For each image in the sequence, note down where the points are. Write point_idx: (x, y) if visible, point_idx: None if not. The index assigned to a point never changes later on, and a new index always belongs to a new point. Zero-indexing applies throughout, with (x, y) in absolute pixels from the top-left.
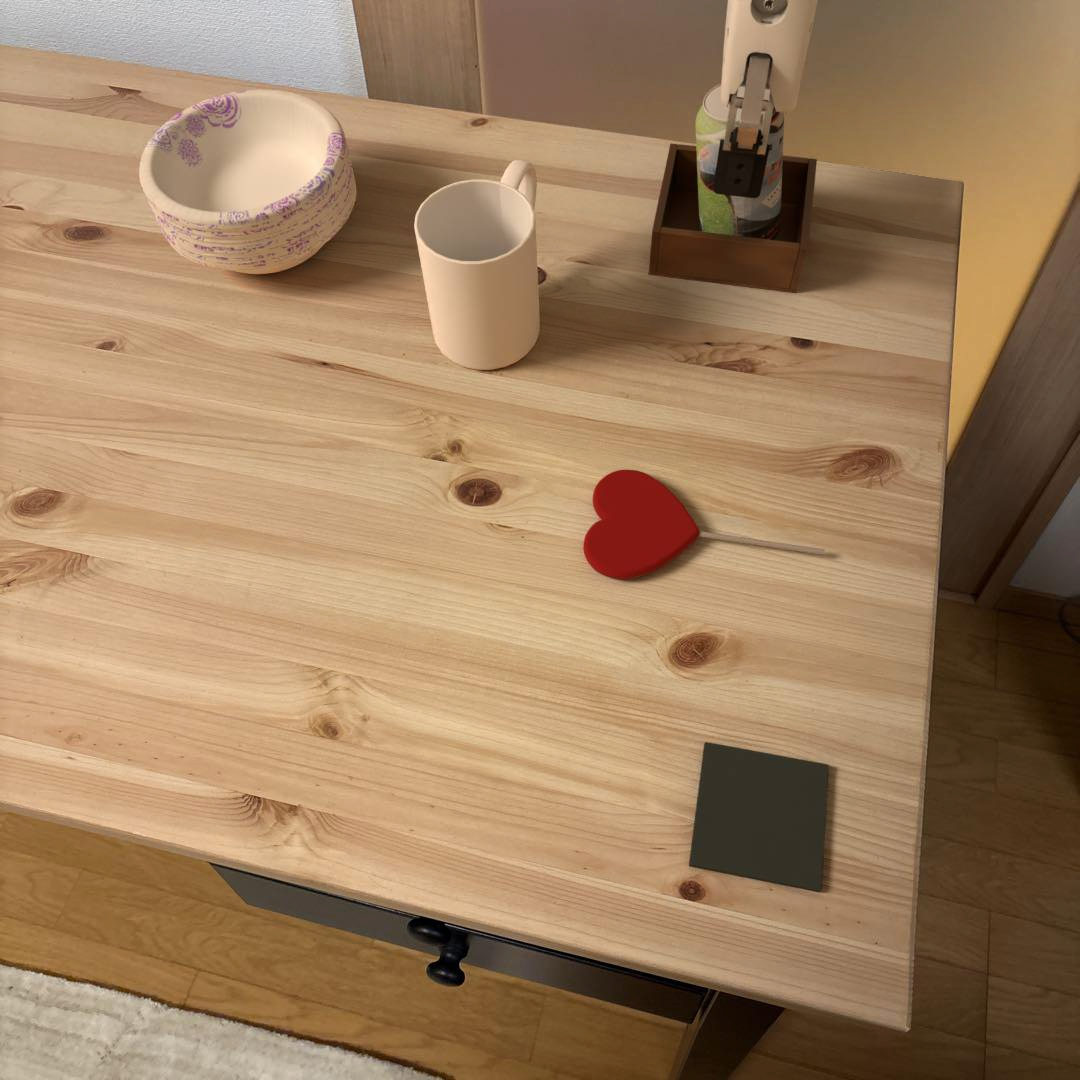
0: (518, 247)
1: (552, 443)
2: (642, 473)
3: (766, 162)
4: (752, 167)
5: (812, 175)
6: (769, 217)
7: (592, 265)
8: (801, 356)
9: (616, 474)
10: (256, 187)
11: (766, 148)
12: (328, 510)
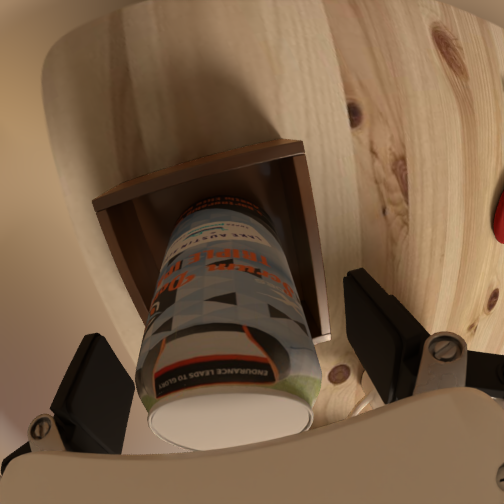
0: None
1: (473, 282)
2: (501, 219)
3: (401, 310)
4: (420, 326)
5: (128, 192)
6: (252, 219)
7: (314, 345)
8: (371, 111)
9: (501, 235)
10: None
11: (417, 338)
12: (490, 348)
